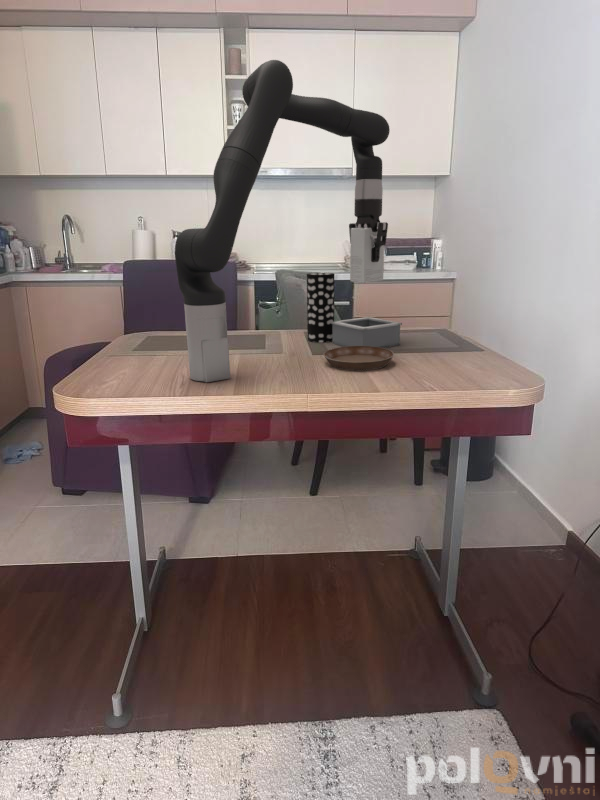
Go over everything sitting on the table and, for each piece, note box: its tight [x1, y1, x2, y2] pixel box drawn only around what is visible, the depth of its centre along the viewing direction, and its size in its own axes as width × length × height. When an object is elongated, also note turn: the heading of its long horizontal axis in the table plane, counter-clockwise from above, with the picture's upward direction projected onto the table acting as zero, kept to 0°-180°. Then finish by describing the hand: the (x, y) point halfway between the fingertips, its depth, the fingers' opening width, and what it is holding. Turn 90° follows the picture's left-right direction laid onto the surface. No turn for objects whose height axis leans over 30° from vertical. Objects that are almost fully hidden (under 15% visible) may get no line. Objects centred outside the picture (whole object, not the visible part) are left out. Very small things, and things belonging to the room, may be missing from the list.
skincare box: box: [349, 228, 385, 284], centre depth 151 cm, size 8×6×15 cm
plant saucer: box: [323, 346, 395, 371], centre depth 136 cm, size 18×18×3 cm
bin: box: [331, 316, 403, 349], centre depth 158 cm, size 15×15×6 cm
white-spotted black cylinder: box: [306, 272, 335, 344], centre depth 163 cm, size 8×8×20 cm
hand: (367, 261), depth 151 cm, fingers closed on skincare box, 6 cm apart
